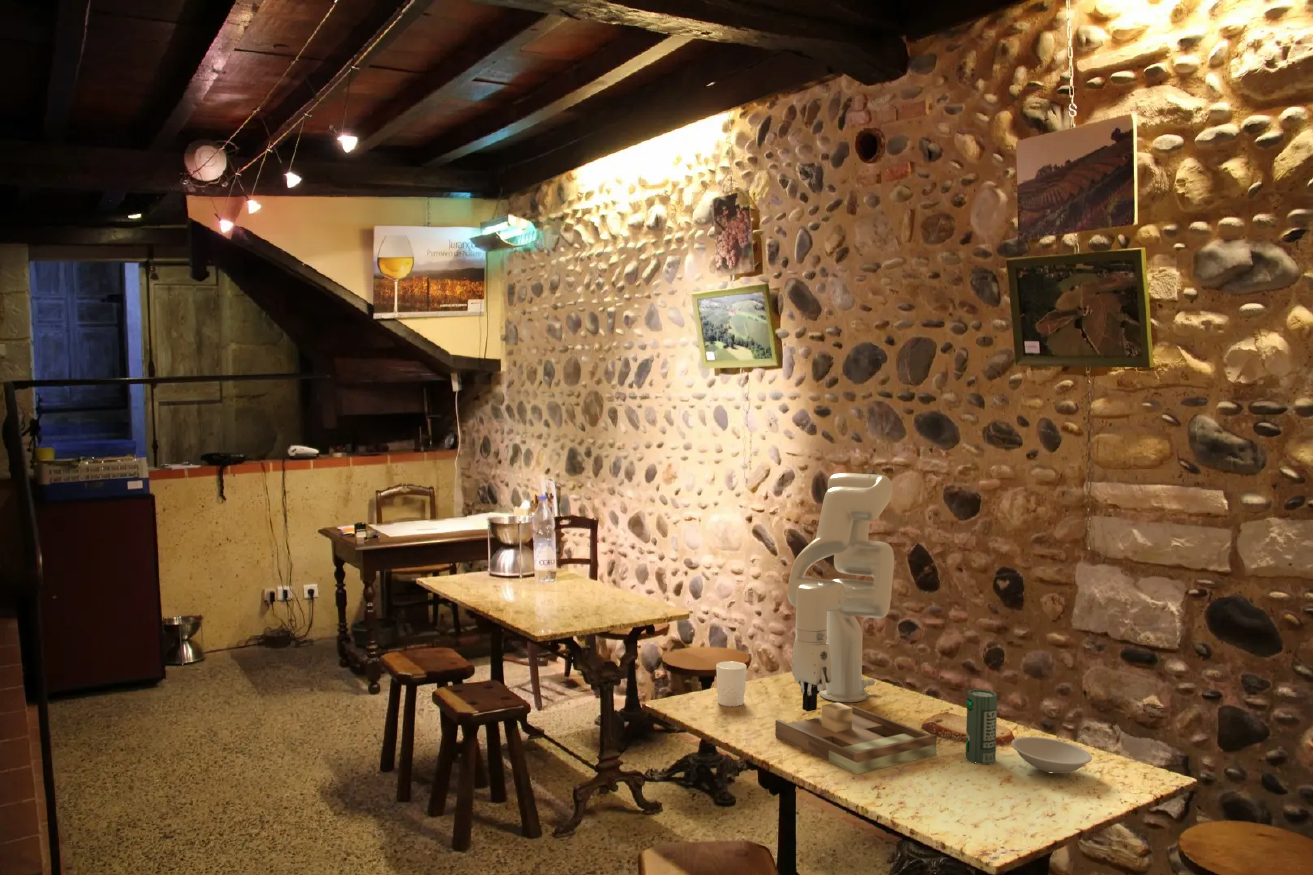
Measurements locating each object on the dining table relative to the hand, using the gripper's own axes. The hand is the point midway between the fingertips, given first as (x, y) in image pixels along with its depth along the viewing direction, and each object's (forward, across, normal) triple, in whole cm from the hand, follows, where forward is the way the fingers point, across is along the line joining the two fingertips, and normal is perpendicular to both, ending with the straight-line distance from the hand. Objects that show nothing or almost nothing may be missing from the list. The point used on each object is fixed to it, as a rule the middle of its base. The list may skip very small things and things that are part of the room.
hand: (809, 709), depth 255 cm
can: (+4, -37, -19) cm, 41 cm away
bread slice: (+5, -23, -30) cm, 38 cm away
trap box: (+4, -16, 0) cm, 16 cm away
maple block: (+2, -10, 0) cm, 10 cm away
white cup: (+4, +25, +6) cm, 26 cm away
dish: (+4, -50, -26) cm, 56 cm away
